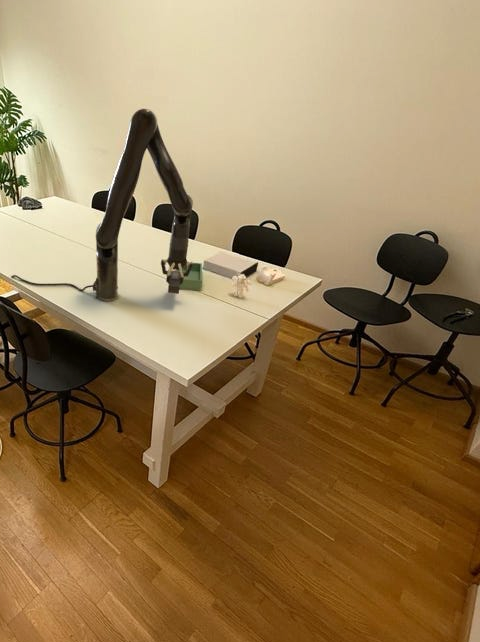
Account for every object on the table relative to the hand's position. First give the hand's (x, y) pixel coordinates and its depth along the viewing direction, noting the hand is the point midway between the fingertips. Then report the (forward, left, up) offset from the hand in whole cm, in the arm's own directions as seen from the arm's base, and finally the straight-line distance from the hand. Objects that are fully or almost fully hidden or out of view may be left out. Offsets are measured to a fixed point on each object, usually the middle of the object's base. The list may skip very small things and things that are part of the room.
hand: (174, 283), depth 162 cm
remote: (0, 0, -1) cm, 1 cm away
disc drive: (+28, +40, -9) cm, 50 cm away
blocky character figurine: (+30, +10, -9) cm, 33 cm away
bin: (+6, +23, -9) cm, 25 cm away
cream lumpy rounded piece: (+48, +31, -9) cm, 58 cm away
